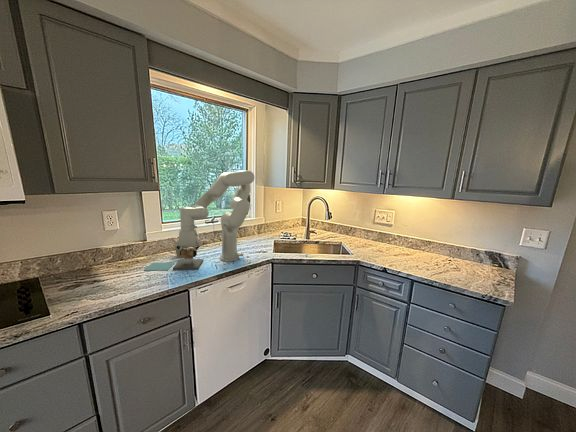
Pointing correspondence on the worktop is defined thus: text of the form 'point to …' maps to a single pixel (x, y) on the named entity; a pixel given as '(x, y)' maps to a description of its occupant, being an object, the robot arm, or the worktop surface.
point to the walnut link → (187, 253)
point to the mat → (159, 266)
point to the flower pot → (178, 250)
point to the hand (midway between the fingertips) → (188, 256)
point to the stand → (188, 263)
